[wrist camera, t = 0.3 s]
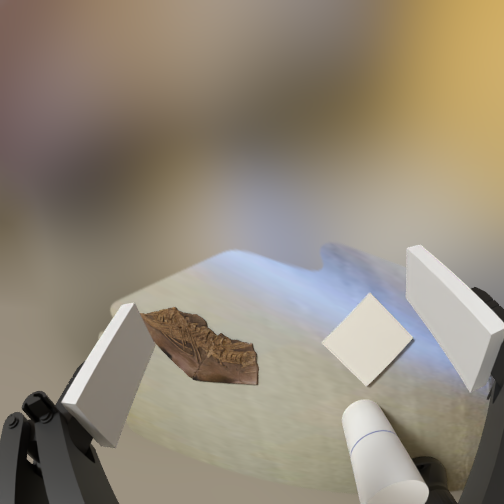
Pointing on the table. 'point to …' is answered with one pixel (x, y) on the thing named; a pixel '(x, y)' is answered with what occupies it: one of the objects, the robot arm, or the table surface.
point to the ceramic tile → (367, 339)
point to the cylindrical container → (380, 458)
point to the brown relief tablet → (201, 348)
